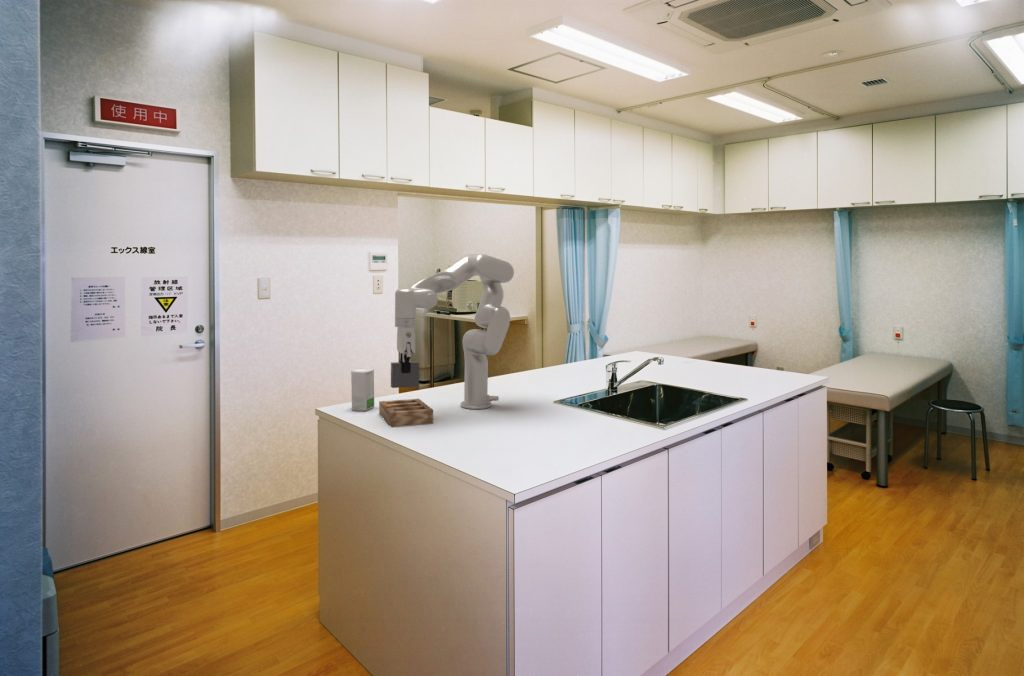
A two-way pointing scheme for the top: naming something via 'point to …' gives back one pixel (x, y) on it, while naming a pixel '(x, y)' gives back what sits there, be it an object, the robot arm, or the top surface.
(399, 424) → the rack
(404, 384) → the panel
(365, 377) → the skincare box
